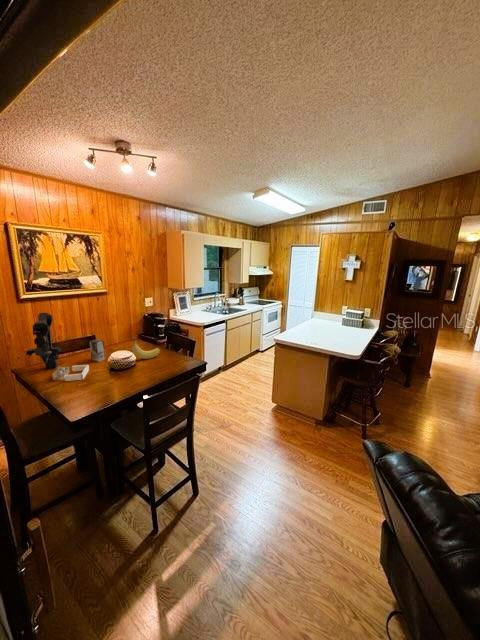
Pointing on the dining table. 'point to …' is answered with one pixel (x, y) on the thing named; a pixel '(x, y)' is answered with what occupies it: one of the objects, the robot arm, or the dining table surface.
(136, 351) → the banana
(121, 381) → the dining table surface
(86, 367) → the beige u-shaped block
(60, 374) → the crate with rolls
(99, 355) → the coffee box
